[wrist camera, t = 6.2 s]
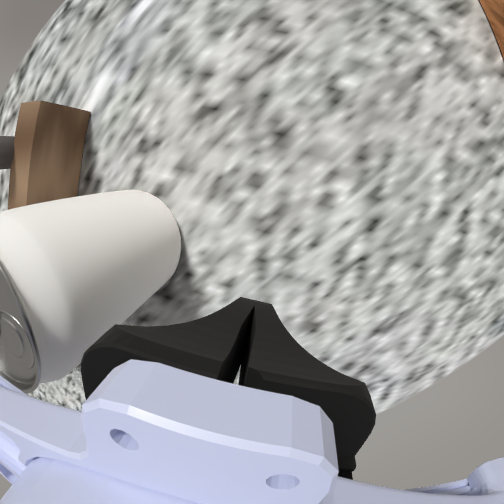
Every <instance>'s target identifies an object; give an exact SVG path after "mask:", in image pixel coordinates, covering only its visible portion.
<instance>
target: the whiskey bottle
mask: <svg viewBox="0 0 504 504" xmlns="http://www.w3.org/2000/svg"><path fill="white" fill-rule="evenodd" d="M479 1H480V3H481V5H482V7H483V9H484V11H485V13H486V15H487V18H488V20H489V22H490V24H491V27H492V29H493V31H494V34H495V36H496V39H497V41H498V44H499V47H500V50H501V52H502V55H503V58H504V0H479Z"/></svg>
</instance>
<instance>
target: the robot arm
mask: <svg viewBox="0 0 504 504" xmlns="http://www.w3.org/2000/svg"><path fill="white" fill-rule="evenodd" d="M240 365H241V369H240V377H239V385H236V384H233V382H234V380H235V377H236V375H237V372H238V370H239V367H240ZM81 375H82V381H83V387H84V392H85V397H86V401H85V402H84V404H83V405H82V411H78V410H74V409H70V408H66V407H62V406H59V405H55V404H52V403H48V402H45V401H42V400H39V399H35V398H32V397H30V396H28V395H27V394H25V393H24V392H22V391H21V390H20V389H18V388H17V387H15V386H14V385H13V384H11V383H10V382H9V381H7V380H6V379H5V378H3V377H2V376H1V375H0V474H1V475H2V476H4V477H5V478H6V479H7V480H8V481H9V482H10V483H11V484H12V486H11V487H10V489H9V490H8V491H7V492H6V494H5V495H4V496H3V498H2V499H1V500H0V504H504V457H501V458H498V459H495V460H491V461H487V462H485V463H482V464H481V465H480V466H478V467H477V468H476V469H475V470H474V471H473V472H472V473H471V474H470V475H469V477H468V478H467V479H463V480H459V481H455V482H451V483H445V484H440V485H434V486H429V487H421V488H414V489H406V490H400V489H394V488H388V487H383V486H377V485H373V484H368V483H363V482H359V481H355V480H353V478H352V471H354V470H355V468H356V462H355V455H356V453H357V452H358V451H359V449H360V448H361V447H362V445H363V444H364V442H365V441H366V439H367V438H368V436H369V435H370V434H371V431H372V429H373V427H374V425H375V419H376V413H375V410H374V407H373V403H372V400H371V396H370V394H369V391H368V389H367V387H366V384H365V383H364V382H361V381H359V380H356V379H354V378H351V377H349V376H346V375H344V374H342V373H339V372H338V371H336V370H334V369H332V368H330V367H328V366H327V365H325V364H324V363H322V362H320V361H319V360H318V359H316V358H315V357H313V356H312V355H311V354H309V353H308V352H307V351H306V350H305V349H304V348H303V347H302V346H300V345H299V344H298V343H297V342H296V341H295V339H294V338H293V337H292V336H291V335H290V334H289V332H288V331H287V330H286V328H285V327H284V325H283V324H282V322H281V321H280V319H279V317H278V315H277V314H276V312H275V310H274V308H273V306H272V304H269V303H264V302H260V301H256V300H251V299H247V298H243V297H240V298H238V299H237V300H235V301H234V302H232V303H231V304H229V305H227V306H226V307H224V308H222V309H221V310H219V311H217V312H215V313H213V314H210V315H208V316H206V317H203V318H200V319H197V320H194V321H191V322H186V323H181V324H175V325H169V326H155V327H140V326H128V325H118V324H115V325H114V326H113V327H111V328H110V329H109V330H108V331H107V332H105V333H104V334H103V335H102V336H101V337H100V338H99V339H98V340H97V341H96V342H95V343H94V344H93V345H91V346H90V347H89V348H88V349H87V350H86V352H85V353H84V354H83V357H82V360H81Z"/></svg>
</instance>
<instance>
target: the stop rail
mask: <svg viewBox="0 0 504 504" xmlns="http://www.w3.org/2000/svg"><path fill="white" fill-rule="evenodd" d="M89 117H90V112H89V111H85V110H81V109H76V108H72V107H68V106H63V105H59V104H54V103H50V102H45V101H34V102H26V103H21V107H20V111H19V116H18V121H17V127H16V132H15V137H13V136H0V169H11V170H10V181H9V198H8V210H9V209H13V208H18V207H23V206H27V205H32V204H37V203H43V202H48V201H53V200H59V199H65V198H71V197H77V195H78V186H79V177H80V169H81V162H82V155H83V149H84V143H85V137H86V132H87V127H88V122H89Z"/></svg>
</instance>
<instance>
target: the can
mask: <svg viewBox="0 0 504 504" xmlns="http://www.w3.org/2000/svg"><path fill="white" fill-rule="evenodd" d="M180 253H181V237H180V232H179V228H178V225H177V222H176V220H175V218H174V216H173V214H172V213H171V211H170V210H169V209H168V207H167V206H166V205H165V204H164V203H163V202H162V201H161V200H159V199H158V198H157V197H155V196H153V195H152V194H150V193H147V192H144V191H140V190H122V191H113V192H105V193H98V194H91V195H84V196H77V197H71V198H65V199H59V200H53V201H48V202H43V203H37V204H32V205H27V206H23V207H18V208H13V209H9V210H5V211H2V212H0V375H1V376H2V377H3V378H5V379H6V380H7V381H9V382H10V383H11V384H13V385H14V386H15V387H17V388H18V389H20V390H21V391H22V392H24V393H31V392H33V391H34V390H35V389H36V388H37V387H38V385H39V383H45V382H51V381H55V380H58V379H61V378H63V377H65V376H66V375H67V374H69V373H70V372H71V371H72V370H73V369H75V368H76V367H77V366H78V365H79V364H80V363H81V360H82V357H83V354H84V353H85V352H86V350H87V349H88V348H89V347H90V346H91V345H93V344H94V343H95V342H96V341H97V340H98V339H99V338H100V337H101V336H102V335H103V334H104V333H105V332H107V331H108V330H109V329H110V328H111V327H113V326H114V325H115V324H118V325H121V324H122V323H123V322H124V321H125V320H126V319H127V318H129V317H130V316H131V315H132V314H133V313H134V312H135V311H136V310H137V309H138V308H139V307H140V306H141V305H142V304H144V303H145V302H146V301H147V300H148V299H149V298H150V297H151V296H152V295H153V294H154V293H155V292H156V291H158V290H159V289H160V288H161V287H162V286H163V285H164V284H165V283H166V282H167V281H168V280H169V279H170V278H171V277H172V275H173V274H174V272H175V270H176V268H177V265H178V262H179V258H180Z"/></svg>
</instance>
